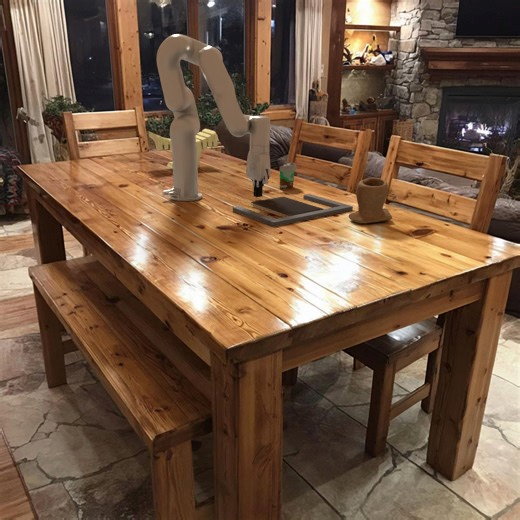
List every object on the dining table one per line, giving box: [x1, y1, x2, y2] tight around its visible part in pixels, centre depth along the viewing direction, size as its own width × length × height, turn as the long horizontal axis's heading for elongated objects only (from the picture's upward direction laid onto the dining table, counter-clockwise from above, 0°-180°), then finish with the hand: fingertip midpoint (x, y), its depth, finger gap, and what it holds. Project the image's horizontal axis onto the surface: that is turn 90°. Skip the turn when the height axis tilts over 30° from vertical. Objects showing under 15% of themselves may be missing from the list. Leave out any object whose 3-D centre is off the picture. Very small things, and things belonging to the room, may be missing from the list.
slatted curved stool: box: [148, 128, 218, 170], centre depth 279 cm, size 30×16×18 cm, turn 117°
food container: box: [279, 161, 297, 190], centre depth 240 cm, size 12×6×10 cm, turn 168°
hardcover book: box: [251, 196, 324, 218], centre depth 206 cm, size 16×23×2 cm
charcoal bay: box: [232, 193, 354, 227], centre depth 204 cm, size 37×24×2 cm, turn 127°
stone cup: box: [348, 177, 393, 224], centre depth 189 cm, size 15×12×15 cm
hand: (257, 196), depth 219 cm, fingers closed
